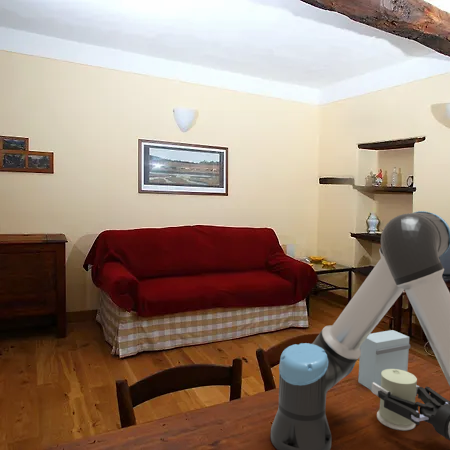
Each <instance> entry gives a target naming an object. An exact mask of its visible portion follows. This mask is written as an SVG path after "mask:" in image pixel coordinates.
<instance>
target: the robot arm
mask: <svg viewBox="0 0 450 450" xmlns="http://www.w3.org/2000/svg"><path fill="white" fill-rule="evenodd" d="M449 248H450V226H449V224H448V223H447V222H446V220H445V219H443V217H441V216H440V215H438V214H436V213H434V212H430V211H429V212H428V211H425V210H423V211H422V210H421V211H420V210H418V211H415V212H412V213H411V212H410V213H403V214H399V215H397V216H395V217H393V218H392V219H390V220H389V221H388V222H387V223H386V225H385V226H384V228H383V229H382V231H381V236H380V247H379V255H380V259H379V260H378V262H377V263H376V264H375V266H374V267H373V269H372V270H371V272H369V274H368V275H367V277H366V278H365V280H364V281H363V282H362V284H361V285H360V286H359V288H358V290H357V291H356V292H355V293H354V295H353V297H352V298H351V299H350V300H349V302H348V304H347V305H346V306H345V308H343V310H342V312H341V313H340V314H339V316H338V317H337V319H336V320H335V321H334V322H333V324H332V325H326V326H324V327H323V328H322V330H321V331H320V332H319V334H318V335H317V336H316V338H315V339H314V341H313V342H312V343H309V342H308V343H307V342H305V343H303V342H301V343H299V344H296V343H295V344H292V345H289V346H287V347H285V348H284V350H283V351H282V353H281V355H280V359H279V365H278V372H279V373H278V374H279V375H278V376H279V377H278V378H279V379H278V381H279V382H278V409H277V412H276V414H275V416H274V419H273V422H272V425H271V428H270V441H271V443H272V445H273V447H274V448H275V449H276V450H331V448H332V432H331V430H330V426H329V422H328V419H327V415H326V406H327V405H326V403H327V393H328V391H330V390H331V389H332V388H333V387H334V386H335V385H337V384H338V383H339V382H340V381H341V380H343V379H344V378H347V376H349V375H350V374H351V373H352V371H353V370H354V367H355V365H356V363H357V362H358V360H359V359H360V356H361V349H360V346H361V345H362V343H363V342H364V341H365V339H366V338H367V337H368V336H369V334H371V333H372V332H373V330H375V328H376V327H377V326H378V324H379V323H380V322H381V320H382V319H383V318H384V316H385V315H386V314H387V313H388V311H389V310H390V308H391V307H393V305H394V304H395V302H396V301H397V300H398V298H399V297H400V296H401V295H402V294H403V292H405V293H406V297H407V298H408V300H409V303H410V304H411V307H412V309H413V311H414V313H415V316H416V317H417V319H418V321H419V324H420V326H421V329H422V330H423V332H424V334H425V336H426V339H427V342H428V343H429V346H430V347H431V349H432V352H433V353H434V355H435V358H436V360H437V362H438V364H439V366H440V369H441V371H442V372H443V376H444V377H445V379H446V381H447V384H448V386H449V387H450V290H449V288H448V287H447V284H446V282H445V281H444V278H443V274H444V271H445V268H444V266H443V264H442V262H441V259H440V258H441V257H442V256H444V255H446V253H447V252H448V250H449ZM418 386H419V385H418ZM418 386H416V397H417V399H419V400H421V401H422V402H419V401H415V403H414V402H411V401H408V400H405V399H402V398H399V397H396V396H392V393H391V392H389V391H387V390H385V389H384V388H382V387H381V386H379V385H377V384H376V383H374V382H373V383H372V390H370V391H371V393H372V394H373V395H374V396H375V395H376V397H377V398H379V399H380V398H381V399H382V400H384V408H386V409H388V410H390V411H393V412H395V413H397V414H399V415H401V416H403V417H405V418H407V419H409V420H410V421H412V422H413V423H414V424H416V425H417V426H419V425H420V422H422V421H424V422H425V423H428V424H431V425H432V427H433V428H434V430H435V432H436V433H437V434H439V435H440V436H442V437H443V438H444V439H446V440H448V441H450V400H448V399H447V398H445V397H444V396H443V395H441V394H439V393H438V392H437V391H436V390H434V389H432V388H431V387H429V386H425V387H423V386H419V387H418Z"/></svg>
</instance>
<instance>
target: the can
mask: <svg viewBox="0 0 450 450" xmlns="http://www.w3.org/2000/svg"><path fill="white" fill-rule="evenodd" d="M417 383H418V378H417V377H416V375H415V374H413V373H411V372H409V371H408V370H407V371H404V370H399V369H386V370H383V371H382V372H381V387H382V388H384V389H385V390H387V391H389V392H391V393H392V396H396V397H399V398H402V399H405V400H408V401H411V402H414V403H416V398H417V396H416V385H417ZM379 399H380V401H379V409H378V411H379V414H380V416H381V417H382V418H383V419H385V420H386V421H388V422H391V423H394V424H397V425H410V424H412V423H413V422H412V421H410V420H409V419H407V418H405V417H403V416H401V415H399V414H397V413H395V412H393V411H390V410H388V409H386V408H384V400H382V399H381V398H379Z"/></svg>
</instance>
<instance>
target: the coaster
mask: <svg viewBox="0 0 450 450" xmlns="http://www.w3.org/2000/svg"><path fill="white" fill-rule="evenodd" d="M376 419H377V420H378V421H379V422H380V423H381V424H382V425H384V426H385V427H387V428H390V429H393V430H397V431H404V432H405V431H411V430H413V429H415V428H416V424H414V423H412V424H410V425H397V424H394V423H391V422H388V421H386V420H385V419H383V418H382V417H381V416H380V414H379V410H378V411H377V412H376Z"/></svg>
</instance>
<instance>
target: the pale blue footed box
mask: <svg viewBox="0 0 450 450" xmlns="http://www.w3.org/2000/svg"><path fill="white" fill-rule="evenodd" d="M360 349H361V356H360V357H359V359H358V360H359V361H358V365H359V366H358V380H357V381H358V384H360V385H362V386H364V387H366V388H367V389H368V390H370V391H371V390H372V383H373V382H374V383H376V384H377V385H379V386H381V372H382V371H383V370H386V369H399V370H404V371H407V372H408V366H409V352H410V351H409V349H411V344H410V336H408V335H406V334H403V333H401V332H398V331H396V330H393V329H392V330H391V329H389V330H385V331H384V330H383V331H378V332H373V333H372V332H371V333H370V334H369V336H368V337H367V338H366V339H365V341H364V342H363V343H362V345H361V346H360ZM416 386H418V387H420V385H417V384H416Z"/></svg>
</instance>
